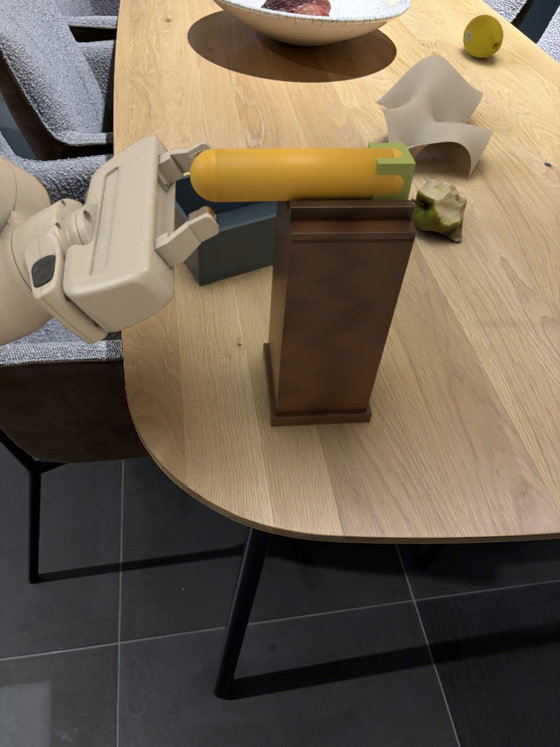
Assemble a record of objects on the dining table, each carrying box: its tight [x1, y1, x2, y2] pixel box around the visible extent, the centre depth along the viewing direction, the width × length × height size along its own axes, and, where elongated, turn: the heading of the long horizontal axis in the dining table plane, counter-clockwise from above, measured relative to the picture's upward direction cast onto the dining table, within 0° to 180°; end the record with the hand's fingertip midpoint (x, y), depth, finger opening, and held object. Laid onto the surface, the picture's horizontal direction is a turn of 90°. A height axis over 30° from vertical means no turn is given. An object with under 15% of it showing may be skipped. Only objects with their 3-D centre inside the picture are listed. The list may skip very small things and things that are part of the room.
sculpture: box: [375, 54, 493, 179], centre depth 104 cm, size 25×19×10 cm
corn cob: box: [189, 142, 417, 202], centre depth 48 cm, size 18×4×4 cm, turn 96°
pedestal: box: [262, 199, 418, 427], centre depth 59 cm, size 11×11×26 cm
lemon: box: [462, 14, 504, 59], centre depth 129 cm, size 11×8×8 cm
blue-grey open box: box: [175, 174, 277, 287], centre depth 83 cm, size 22×13×8 cm, turn 118°
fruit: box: [410, 178, 468, 243], centre depth 88 cm, size 9×9×8 cm
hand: (213, 182), depth 48 cm, fingers open, 8 cm apart
